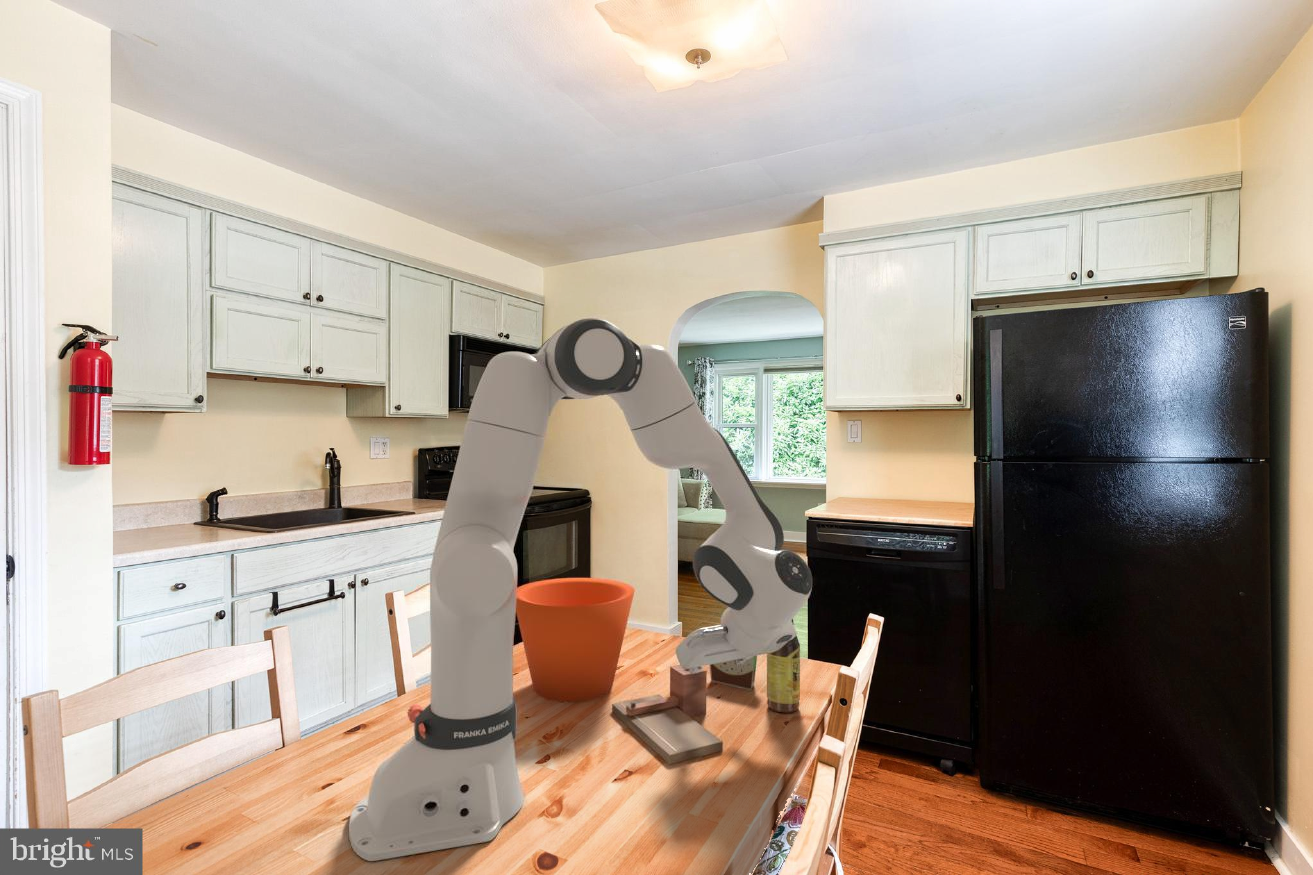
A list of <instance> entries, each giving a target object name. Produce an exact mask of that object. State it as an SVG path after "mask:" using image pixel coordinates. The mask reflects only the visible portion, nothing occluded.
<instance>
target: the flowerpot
mask: <svg viewBox="0 0 1313 875" xmlns="http://www.w3.org/2000/svg"><path fill="white" fill-rule="evenodd" d="M634 594H635V588H634V587H633V586H632V585H631V584H628V583H626V582H622V581H618V580H612V579H606V578H599V577H598V578H595V577H566V578H565V577H563V578H562V577H561V578H552V579H542V580H538V581H532V582H529V583H525V584H522V585H521V586H517V597H516V618H517V621H518V626H519V630H520V635H521V638H522V642H523V647H524V652H525V657H526V661H527V666H528V671H529V675H530V679H531V683H532V688H533V689H532V690H533V692H534V693H535V695H537V696H538V697H539V696H540V698H541V697H542V698H541V699H543V698H544V700H546V699H547V701H551V702H555V701H556V702H555V703H581V702H582V701H583V702H589V701H593V700H595V699H598V697H599V698H601V696H602V697H604V696H606V695H607V694H609V693H610V691H611V690H612V688H613V685H614V680H615V677H616V673H617V668H618V663H619V659H620V654H621V650H622V647H623V643H624V638H625V634H626V629H627V625H628V621H629V617H630V611H631V608H632V603H633V598H634ZM605 694H606V695H605ZM603 695H604V696H603Z"/></svg>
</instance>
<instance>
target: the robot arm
mask: <svg viewBox="0 0 1313 875" xmlns="http://www.w3.org/2000/svg"><path fill="white" fill-rule="evenodd" d="M598 396H608V397H609V398H610V399H612V400H614V402H616V404H617V405H618V407H619V408H620V410H621V411H622V412H623V415H624V417H625V420H626V422H627V425H628V426H629V430H630V431H631V434H632V436H633V438H634V441H635V442H636V445H637V447H638V449H639V450H640V452H641V453H642V454H643V456H644V457H645V459H647V461H648V462H650V463H652V464H653V465H655V466H657V467H660V468H664V469H668V470H680V469H690V468H691V469H696V470H698V471H700V472H701V473H702V474H703V475H704V476H705V477H706V479H707V481H708V482H709V484H710V486H711V487H712V488H713V491H714V492H715V494H716V495H717V497H718V500H719V501H720V502H721V504H722V506H723V507H724V510H725V519H724V523H723V524H722V525H721V526H720V527H719V528H718V529H717V530H716V531H715V532H713V533H712V534H710V536H709V537H708V538H707V539H706V540H705V541H704V542H702V544H701V545H700V546H699V547H698V548H697V549H696V550H695V552H694V553H693V558H692V567H693V568H692V569H693V573H694V576H695V578H696V580H697V582H698V583H699V585H700V586H701V587H702V588H703V590H704V591H705V592H706V593H707V594H708V595H709V596H711V597H712V598H713V599H715V600H716V601H718V602H719V603H722V604H723V605H725V606H727V608H725V610H724V612H723V613H722V615H721V618H720V624H718V625H714V626H706V627H701V628H697V629H695V630H694V631H691V632H690V633H689V634H688V635H687V636H686V637H685V638H684V639H683V640H681V642H680V643H678V644H679V645H678V646H677V647H676V649H675V655H676V658H677V660H678V663H679V665H681V667H682V668H683V669H689V671H690V673H691V674H694V673H699V671H700V670H701V669H702V668H703V667H706V666H710V665H711V664H716V663H721V662H726V661H732V660H733V661H734V663H735V665H739V664H743V663H744V662H745V661H746V660H748V659H750V658H751V657H753V656H757V657H758V656H762V655H767V654H768V653H772V652H775V651H777V650H779V649H780V648H781V647H783V646H784V645H785V644H786V643H787V642H788V641H789V640H792V639H793V638H794V637H795V636H796V635H797V631H796V628H795V624H794V625H793V623H794V622H793V623H792V621H791V620H792V619H793V620H794V618H795V617H796V616H797V615H798V614H799V612H800V611H801V610H802V608H803V607H804V606H805V604H806V603H807V601H808V599H809V598H810V596H811V592H812V588H813V576H812V571H811V569H810V568H809V565H808V564H807V563H806V561H805V560H804V559H803V558H802V557H801V556H800V555H798V554H797V553H796V552H794V551H792V550H787V549H783V546H784V541H785V536H784V529H783V527H782V525H781V522H780V521H779V520H778V518H777V516H775V514H774V513H773V512H772V510H771V509H769V507H768V506H767V505H766V504H765V503H764V501H763V500H762V498H761V496H759V494H758V492H757V491H756V488H755V487H754V485H753V484H752V481H751V480H750V478H749V476H748V475H747V473H746V471H745V470H744V468H743V466H742V464H741V462H740V460H739V459H738V457H737V455H736V453H735V452H734V450H733V448H732V447H731V445H730V444H729V443H728V441H727V439H726V438H725V436H723V434H722V433H721V432H720V431H719V430H718V429H717V428H715V427H713V426H712V425H710V423H709V422H708V420H707V419H706V418H705V416H704V414H703V412H702V410H701V409H700V407H699V405H698V402H697V401H696V398H695V396H694V393H693V391H692V389H691V387H690V386H689V384H688V382H687V380H686V378H685V376H684V374H683V372H682V371H681V369H680V367H679V366H678V365H677V363H676V361H675V360H674V358H673V357H672V355H671V354H670V352H668V350H667V349H665V348H664V347H663V346H660V345H657V344H642V345H638V344H637V343H636V342H635V341H633V340H632V339H631V338H629V336H627V335H626V334H625V333H624V332H623V331H622V330H621V329H620V328H619V327H618V326H616V325H614V324H613V323H612V322H609V321H607V320H605V319H601V318H590V317H589V318H583V319H579V320H576V321H574V322H572V323H570V324H567V325H565V326H562V327H561V328H559V329H558V330H557V331H556V332H554V333H553V334H552V336H551V337H549V338H548V339H547V340H545V342H543V344H542V345H541V346H540V347H539V348H538V349H537V350H536V351H535V352H534V353H533V354H530V353H527V352H522V351H505V352H501V353H498V354H497V355H495V356H493V357H492V358H491V359H490V360H489V361H488V363H487V366H486V367H485V370H484V372H483V373H482V376H481V378H480V380H479V383H478V386H477V388H476V390H475V392H474V396H473V398H472V401H471V405H470V407H469V412H468V415H467V419H466V423H465V427H464V432H463V434H462V435H463V436H462V439H461V443H460V446H459V451H458V455H457V458H456V462H455V466H454V471H453V475H452V479H451V483H450V487H449V491H448V495H447V498H446V502H445V507H444V510H443V515H442V519H441V522H440V526H439V530H438V534H437V539H436V541H435V542H436V543H435V546H434V550H433V555H432V560H431V561H432V562H431V565H430V571H429V610H430V612H429V613H430V614H429V615H430V616H429V617H430V618H429V619H430V620H429V622H430V623H429V624H430V703H429V704H428V705H427V706H426V707H425V708H424V709H423V706H421V705H420V704H417V703H415V704H412V705H410V706H409V708H408V709H407V717H408V720H409V721H410V722H411V724H413V725H414V726H413V729H414V730H413V731H414V736H413V737H412V738H410V739H409V740H408V741H406V743H404V744H403V745H402V746H401V747H400V748H399V749H397V750H396V751H395V752H394V753H393V754H391V755H390V756H389V757H388V758H387V759H386V760H384V761H382V763H381V764H380V765H378V767H377V769H376V771H375V773H374V775H373V777H372V781H371V784H370V788H369V793H368V796H366V797H364V798H362V799H361V800H359V801H358V802H357V804H356V805H355V806H354V808H353V809H352V811H351V813H350V817H349V822H348V824H349V825H348V837H349V843H350V846H351V848H352V849H353V852H354V853H355V854H356V855H357V856H359V857H360V858H361V859H363V860H365V861H368V862H374V861H381V860H387V859H394V858H398V857H405V856H409V855H410V856H411V855H416V854H422V853H428V852H434V851H440V850H445V849H450V848H457V847H462V846H463V847H464V846H469V845H475V844H480V843H486V842H489V841H492V840H494V839H495V837H496V836H498V833H499V832H500V830H501V828H502V826H503V825H504V824H506V823H507V822H508V821H509V820H510V819H512V818H513V817H514V816H515V815H516V814H518V812H519V811H520V810H521V808H522V807H523V806H522V805H523V804H524V799H525V794H524V792H523V788H522V785H521V781H520V777H519V776H520V775H519V773H518V772H519V771H518V766H517V758H516V750H515V739H516V735H517V727H518V726H517V725H518V720H517V719H518V714H517V713H518V710H517V704H516V703H517V700H516V698H515V697H514V696H513V695H514V690H513V689H514V641H515V640H514V639H515V638H514V636H515V625H516V616H517V613H516V597H517V588H518V562H517V558H516V556H515V555H516V554H515V553H514V547H515V545H516V542H517V538H518V534H519V531H520V527H521V523H522V521H523V518H524V515H525V512H526V509H527V506H528V502H529V501H530V498H531V495H532V493H533V489H534V486H535V480H536V477H537V473H538V472H537V471H538V469H539V465H540V464H539V463H540V461H541V460H540V459H541V457H542V456H541V455H542V451H543V447H544V444H545V438H546V434H547V430H548V424H549V419H550V416H551V414H552V412H553V409H554V408H555V406H556V404H558V402H559V401H560V400H575V399H576V400H588V399H592V398H595V397H598ZM797 636H798V635H797Z"/></svg>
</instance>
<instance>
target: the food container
mask: <svg viewBox="0 0 1313 875" xmlns="http://www.w3.org/2000/svg"><path fill="white" fill-rule="evenodd" d="M757 661H758V655H757V656H753V657H751V658H750V659H748V660H746V661H745V662H744V663H743V664H739V665H735V663H734V661H733V660H732V661H726V662H721V663H716V664H711V665H709V672H710V682H713V683H718V684H721V685H727V686H729V687H730V686H731V687H735V688H739V689H743V690H747V691H753V690H754V689H755V688H754V687H755V679H756V671H757Z"/></svg>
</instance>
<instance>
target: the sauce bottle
mask: <svg viewBox="0 0 1313 875" xmlns="http://www.w3.org/2000/svg"><path fill="white" fill-rule="evenodd" d="M791 621H792V623H793V625H794V626H795V624H794V618H793V619H792V620H791ZM800 695H801V644H800V641H799V639H798V635H796V636H795V637H794V638H793V639H792V640H789V641H788V642H787V643H786V644H785V645H784V646H783V647H781V648H780V649H779V650H777V651H775V652H772V653H768V654H766V698H767V702H766V704H767V705H766V706H767V707H768V708H769V709H771V710H772V711H774V712H778V713H785V714H786V713H787V714H789V713H792V712H793V713H794V712H796V711H798V709H799V707H800V700H801V696H800Z"/></svg>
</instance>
